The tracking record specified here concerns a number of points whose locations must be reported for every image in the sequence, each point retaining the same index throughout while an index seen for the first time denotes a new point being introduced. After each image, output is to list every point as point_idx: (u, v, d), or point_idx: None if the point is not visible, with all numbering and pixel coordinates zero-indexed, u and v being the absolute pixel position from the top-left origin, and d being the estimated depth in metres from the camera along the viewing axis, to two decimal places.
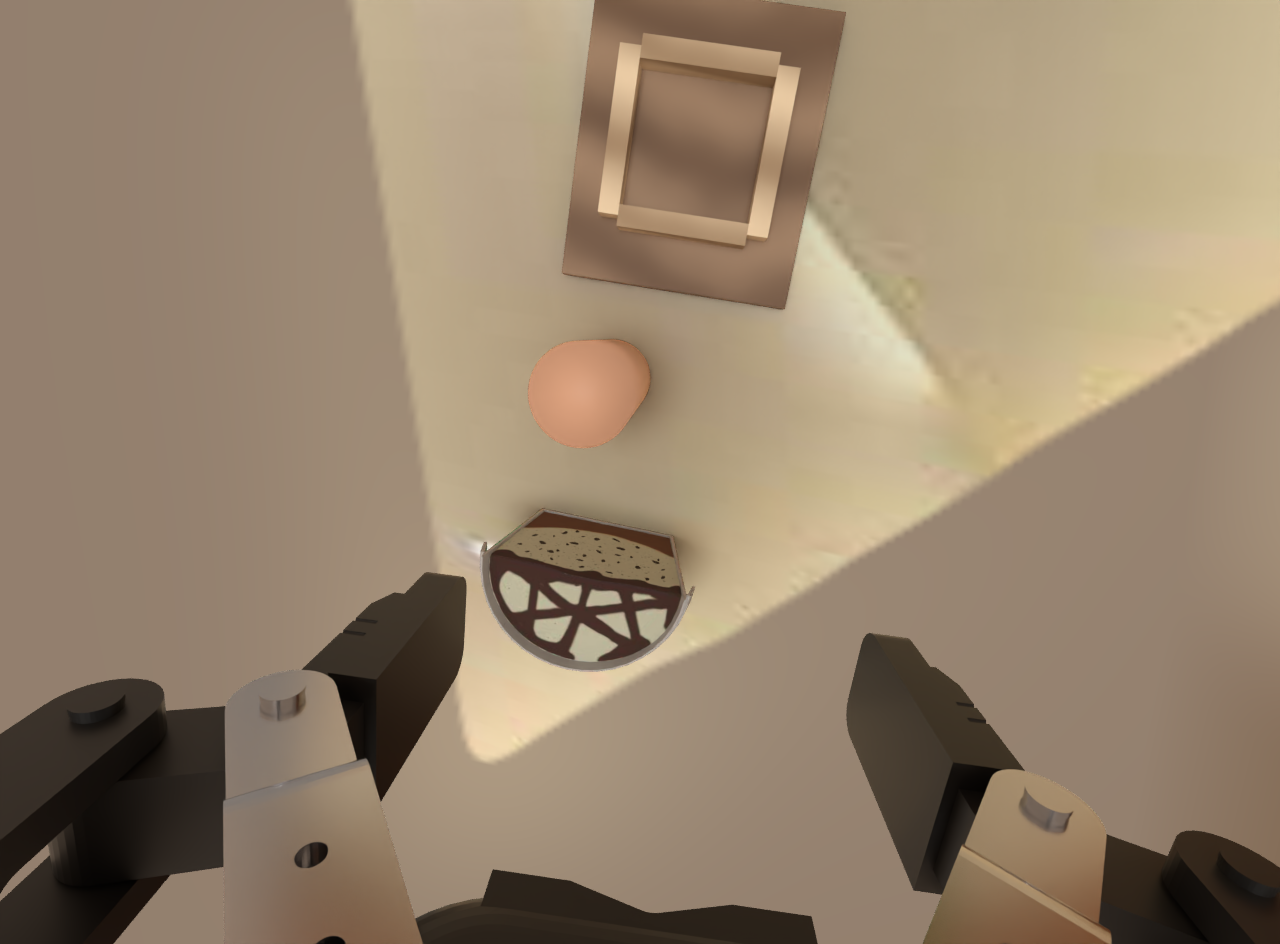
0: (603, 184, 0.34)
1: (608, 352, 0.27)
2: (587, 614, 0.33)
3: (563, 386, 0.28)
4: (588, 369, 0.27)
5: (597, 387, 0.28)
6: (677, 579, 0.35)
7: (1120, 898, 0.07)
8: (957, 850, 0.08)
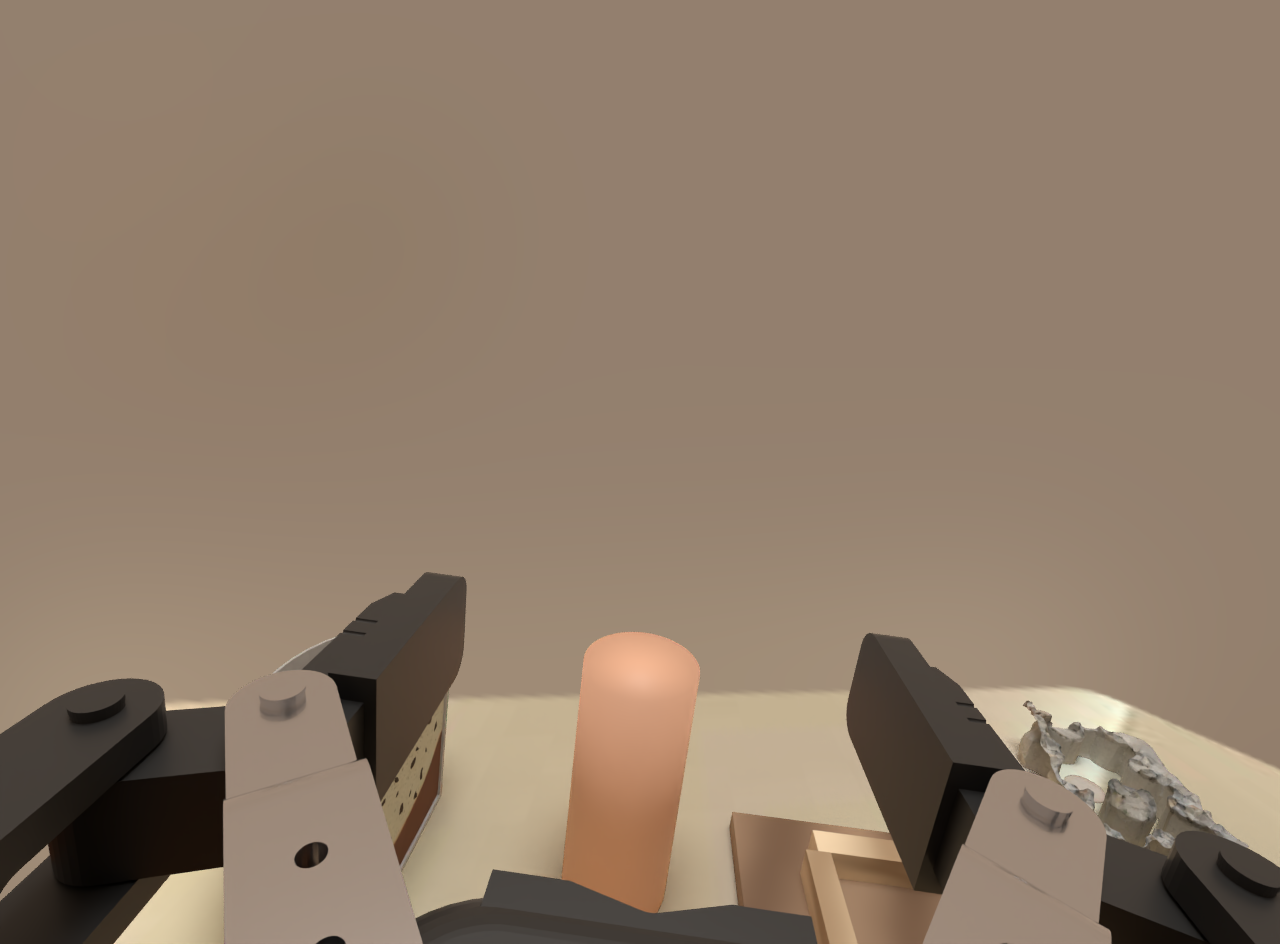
0: (843, 836, 0.30)
1: (692, 683, 0.24)
2: None
3: (649, 652, 0.26)
4: (670, 669, 0.25)
5: (653, 674, 0.25)
6: None
7: (1120, 898, 0.07)
8: (957, 850, 0.08)
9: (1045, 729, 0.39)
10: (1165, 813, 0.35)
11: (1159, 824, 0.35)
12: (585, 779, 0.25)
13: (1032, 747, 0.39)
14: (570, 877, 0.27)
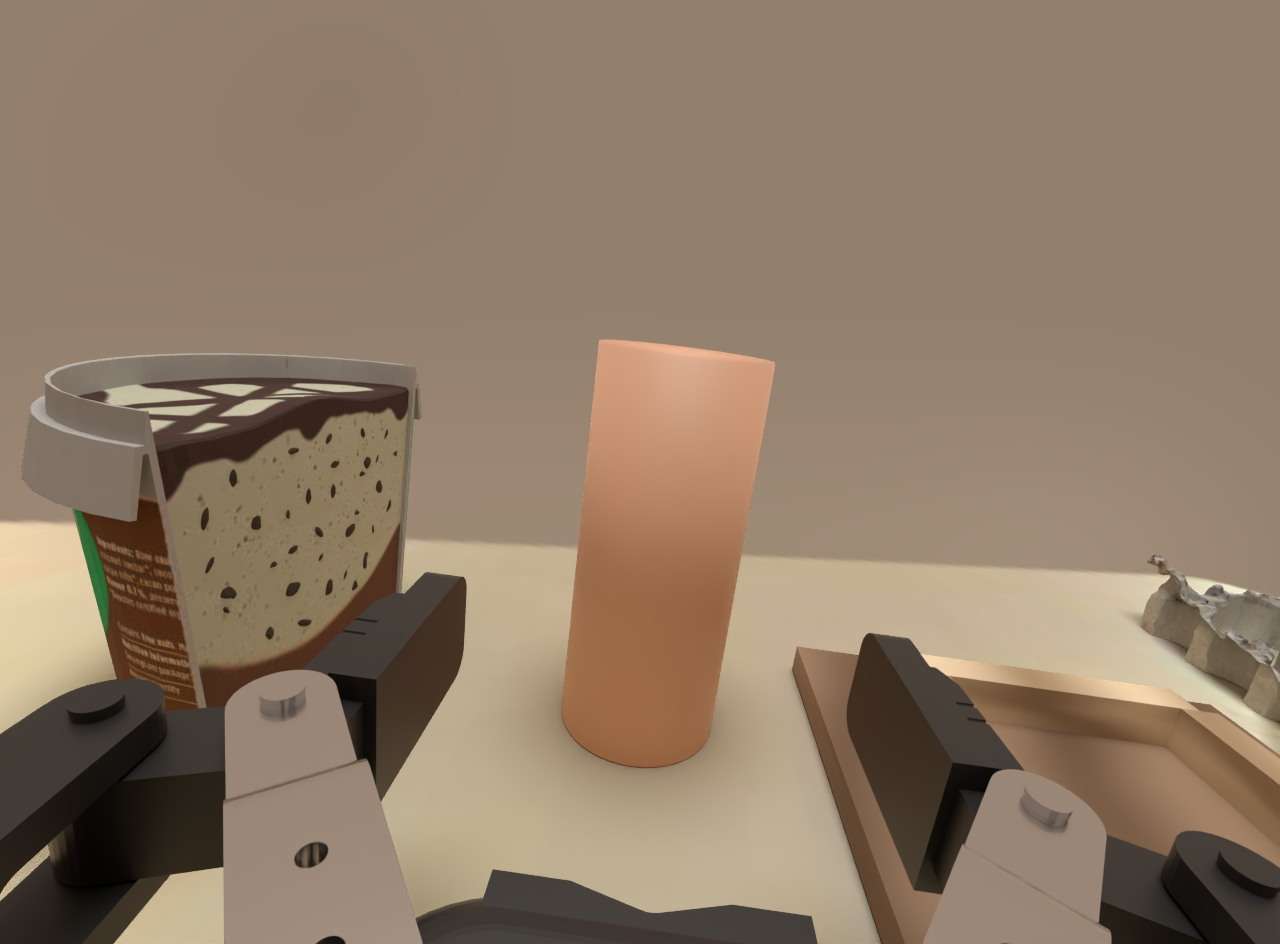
0: (962, 662, 0.21)
1: (766, 363, 0.16)
2: (228, 401, 0.17)
3: (695, 350, 0.18)
4: (730, 357, 0.17)
5: (706, 355, 0.16)
6: (172, 540, 0.12)
7: (1120, 898, 0.07)
8: (957, 850, 0.08)
9: None
10: None
11: None
12: (599, 519, 0.17)
13: (1165, 608, 0.31)
14: (574, 689, 0.18)
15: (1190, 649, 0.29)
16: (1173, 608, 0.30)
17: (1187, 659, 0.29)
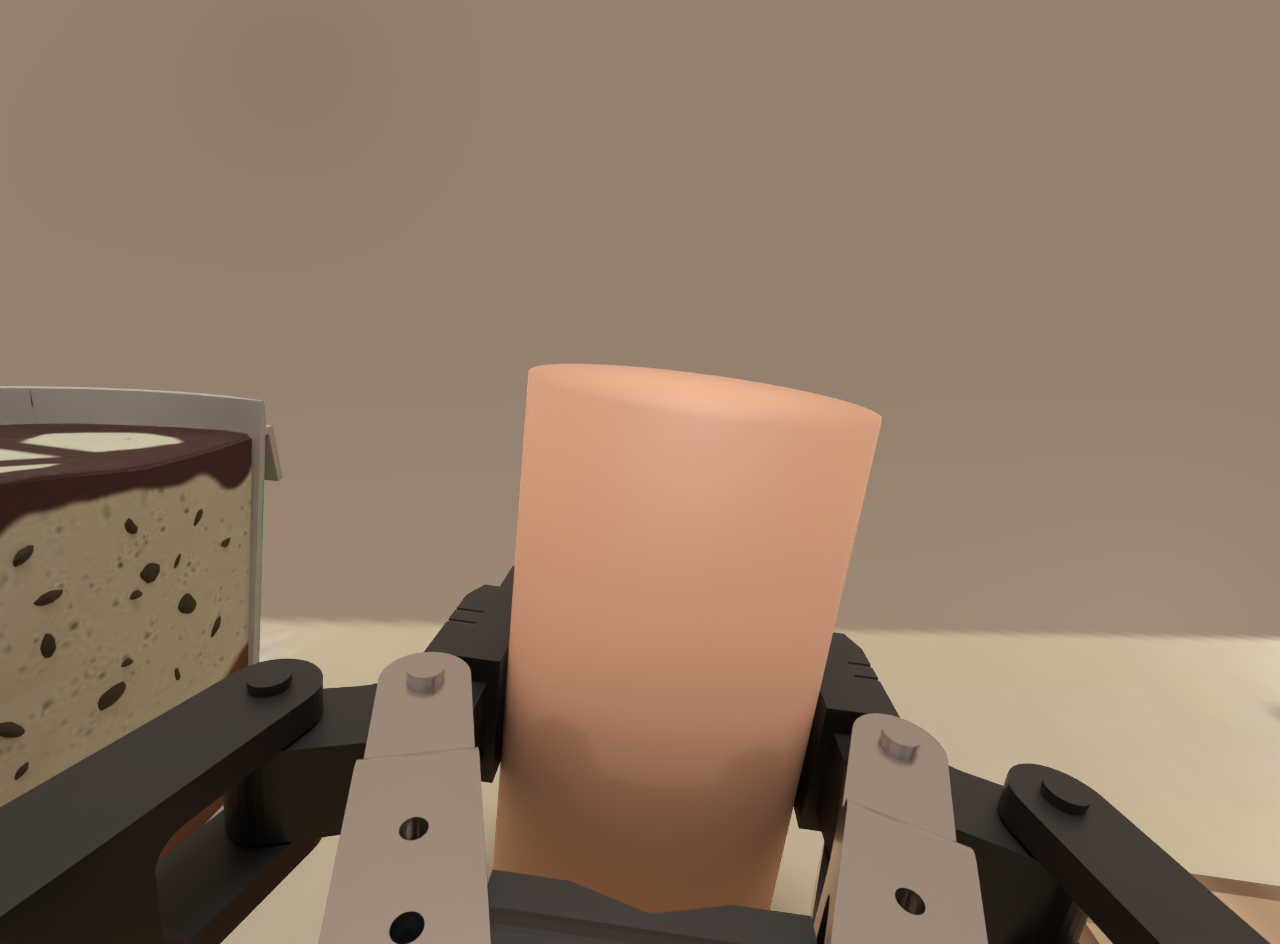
0: None
1: (868, 419, 0.08)
2: None
3: (716, 384, 0.10)
4: (788, 401, 0.08)
5: (742, 399, 0.08)
6: None
7: (955, 820, 0.08)
8: (830, 787, 0.09)
9: None
10: None
11: None
12: (530, 726, 0.08)
13: None
14: None
15: None
16: None
17: None
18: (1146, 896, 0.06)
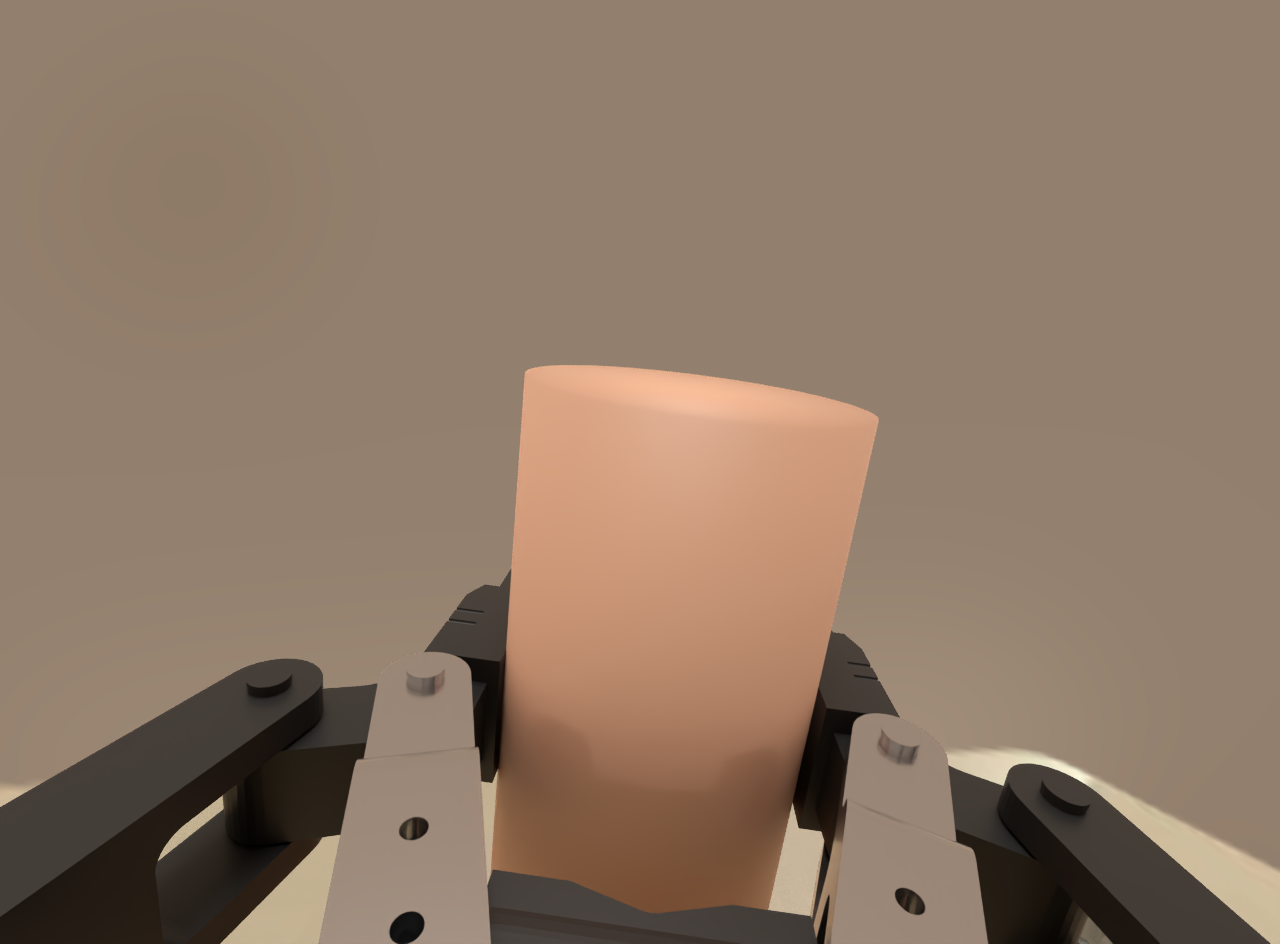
0: None
1: (865, 420, 0.08)
2: None
3: (714, 386, 0.10)
4: (786, 403, 0.08)
5: (739, 401, 0.08)
6: None
7: (955, 820, 0.08)
8: (830, 787, 0.09)
9: None
10: None
11: None
12: (527, 729, 0.08)
13: None
14: None
15: None
16: None
17: None
18: (1146, 896, 0.06)
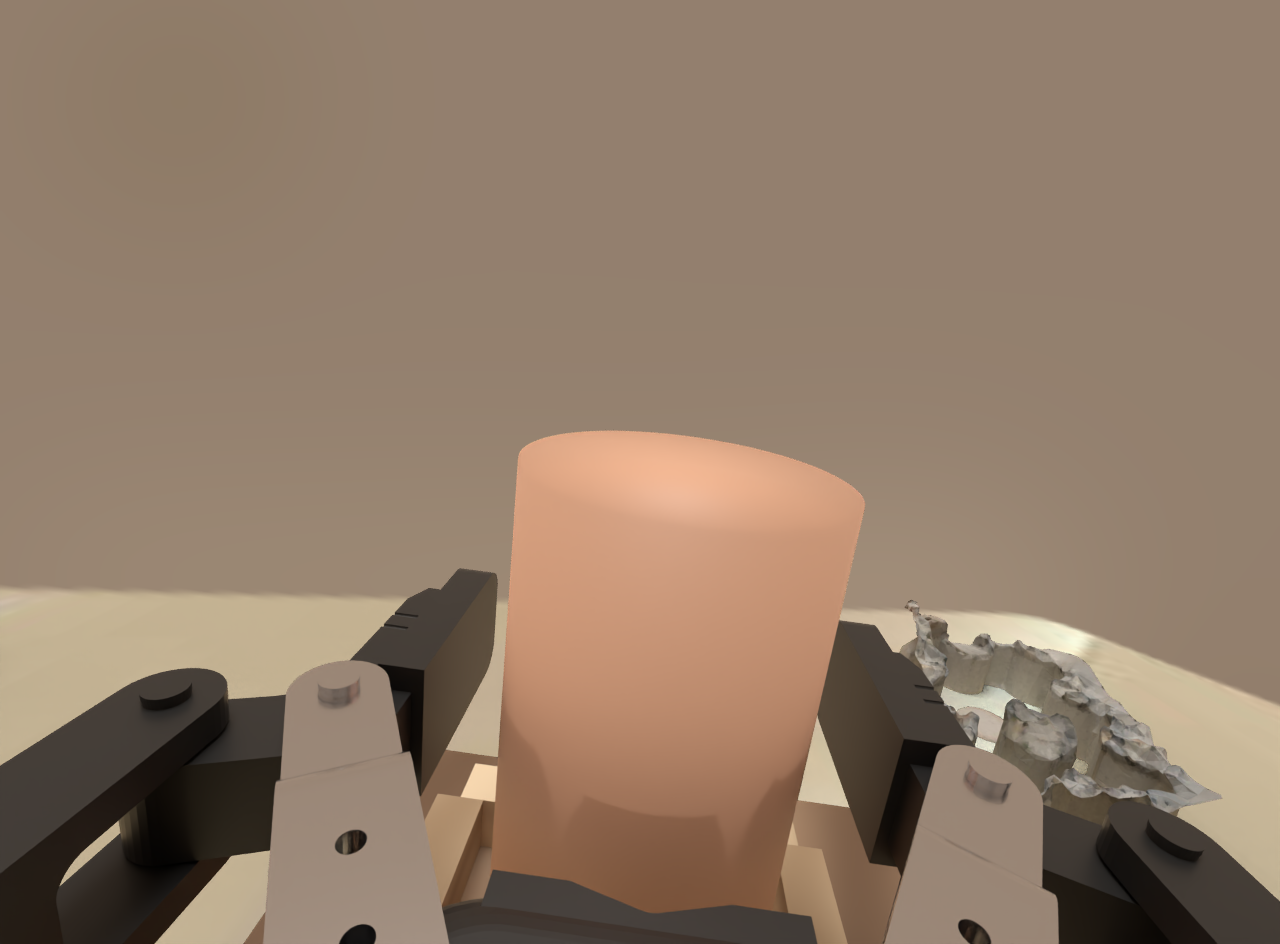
0: None
1: (851, 508, 0.08)
2: None
3: (705, 457, 0.10)
4: (775, 483, 0.09)
5: (727, 487, 0.08)
6: None
7: (1054, 863, 0.07)
8: (908, 822, 0.08)
9: (926, 635, 0.26)
10: (1095, 754, 0.22)
11: (1087, 772, 0.22)
12: (520, 804, 0.08)
13: None
14: None
15: None
16: (917, 664, 0.26)
17: None
18: None
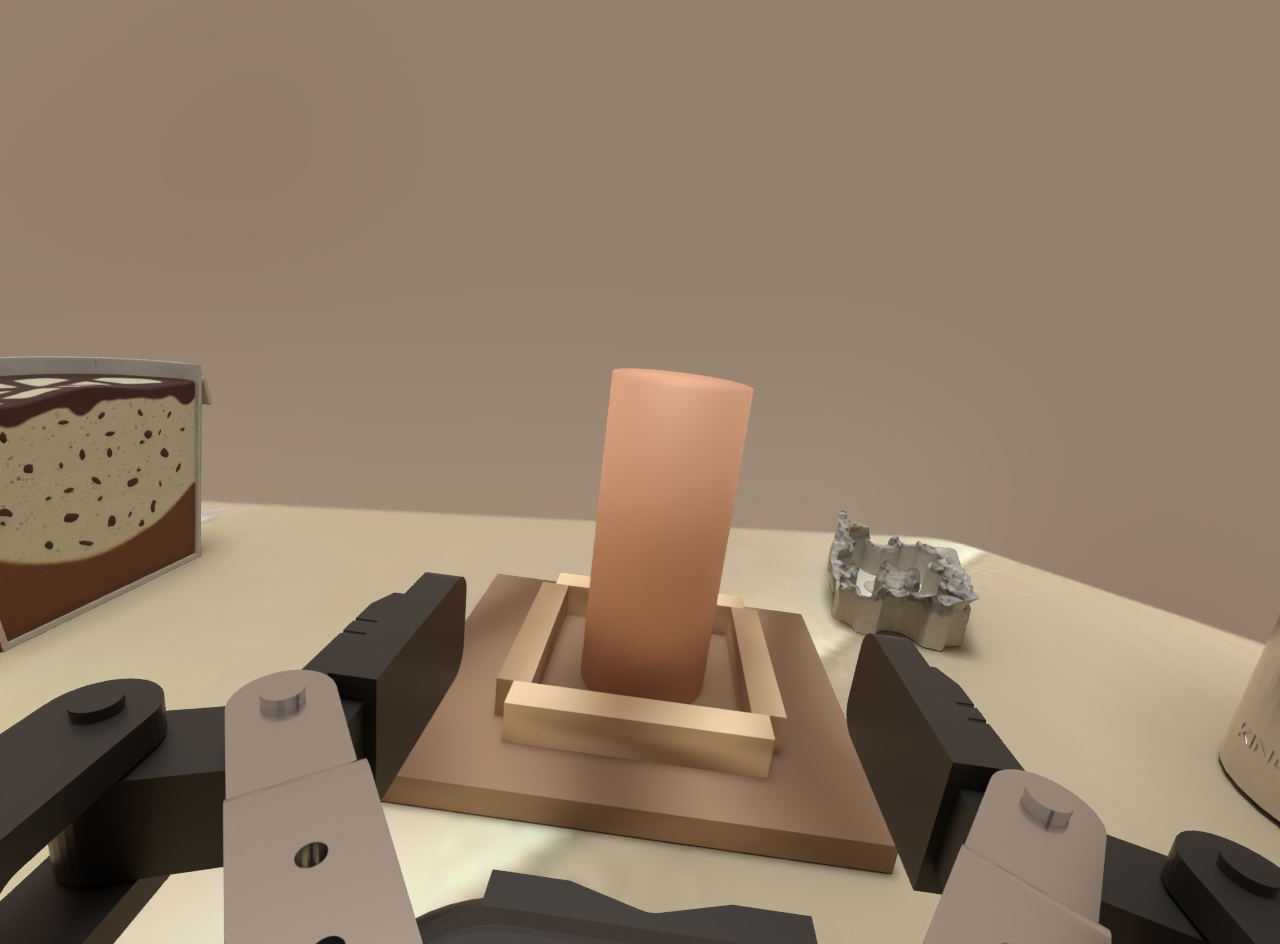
0: None
1: (745, 390, 0.20)
2: (23, 389, 0.24)
3: (690, 377, 0.22)
4: (718, 384, 0.21)
5: (697, 383, 0.20)
6: None
7: (1120, 898, 0.07)
8: (957, 850, 0.08)
9: (845, 529, 0.39)
10: (936, 594, 0.34)
11: None
12: (613, 514, 0.21)
13: None
14: (592, 652, 0.22)
15: (831, 577, 0.37)
16: None
17: (830, 585, 0.37)
18: None
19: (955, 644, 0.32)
